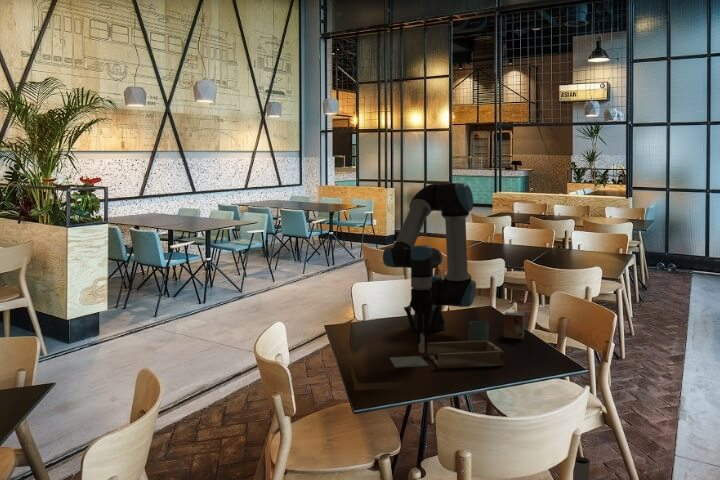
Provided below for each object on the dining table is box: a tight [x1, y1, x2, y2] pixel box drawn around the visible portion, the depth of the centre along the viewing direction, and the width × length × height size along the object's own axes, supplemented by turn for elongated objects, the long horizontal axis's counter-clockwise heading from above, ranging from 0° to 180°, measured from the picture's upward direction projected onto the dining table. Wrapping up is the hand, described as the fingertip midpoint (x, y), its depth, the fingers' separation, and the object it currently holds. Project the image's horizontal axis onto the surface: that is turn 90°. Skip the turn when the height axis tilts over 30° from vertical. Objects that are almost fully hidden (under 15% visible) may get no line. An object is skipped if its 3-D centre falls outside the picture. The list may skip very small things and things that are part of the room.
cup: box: [468, 320, 490, 341], centre depth 237 cm, size 8×8×10 cm
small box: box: [503, 311, 526, 340], centre depth 252 cm, size 8×6×10 cm
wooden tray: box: [426, 339, 505, 369], centre depth 219 cm, size 17×24×5 cm
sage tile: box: [389, 355, 429, 369], centre depth 218 cm, size 12×12×1 cm
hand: (421, 351), depth 217 cm, fingers closed
